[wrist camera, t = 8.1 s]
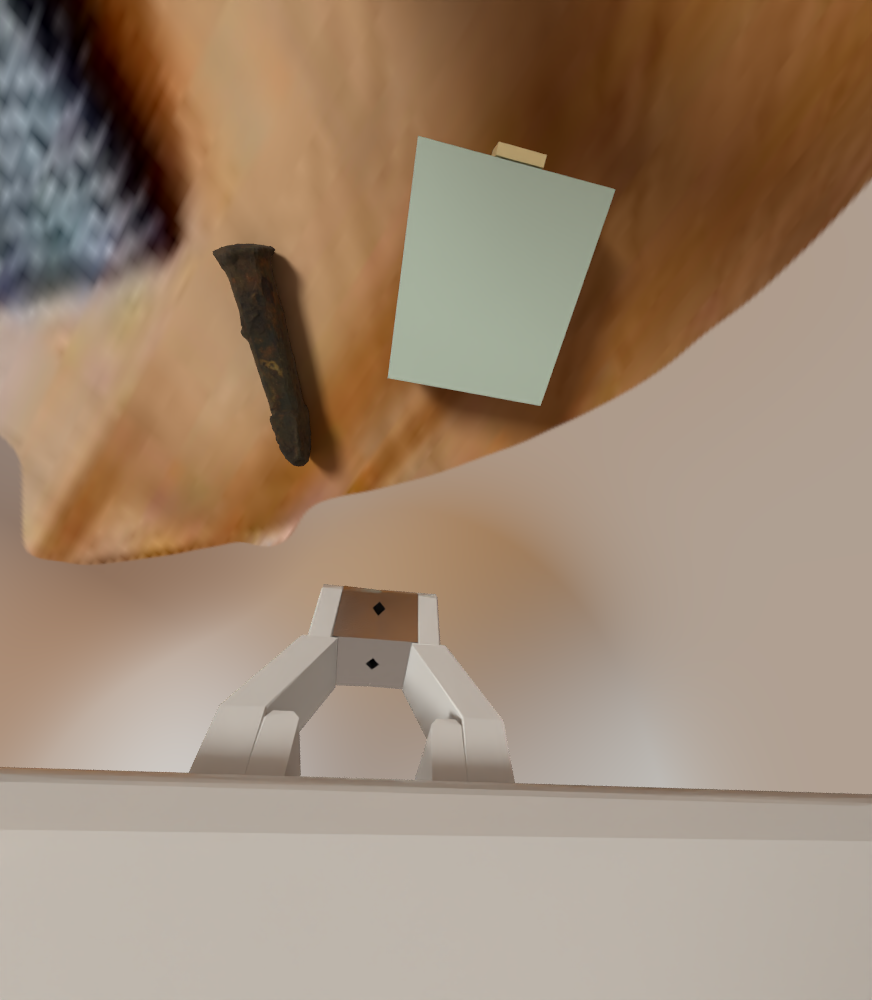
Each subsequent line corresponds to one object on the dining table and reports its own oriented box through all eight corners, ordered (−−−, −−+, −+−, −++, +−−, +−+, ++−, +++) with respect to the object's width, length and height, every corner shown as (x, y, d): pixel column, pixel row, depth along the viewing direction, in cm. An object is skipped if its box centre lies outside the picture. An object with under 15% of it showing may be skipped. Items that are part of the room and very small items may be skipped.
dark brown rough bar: (227, 244, 31) (199, 244, 27) (277, 243, 31) (256, 242, 27) (283, 455, 41) (269, 477, 37) (320, 454, 41) (310, 476, 38)
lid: (420, 131, 24) (420, 118, 22) (602, 181, 26) (620, 173, 23) (390, 369, 32) (387, 377, 29) (532, 395, 33) (540, 405, 31)
